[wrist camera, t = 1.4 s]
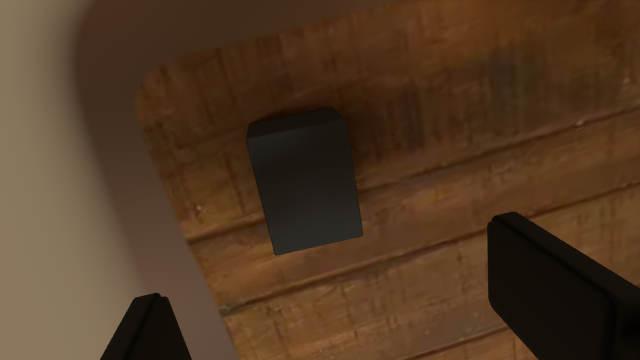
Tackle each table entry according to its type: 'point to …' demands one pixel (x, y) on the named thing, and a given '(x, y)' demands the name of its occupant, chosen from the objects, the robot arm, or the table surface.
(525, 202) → the table surface
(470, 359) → the table surface
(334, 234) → the dark grey block
